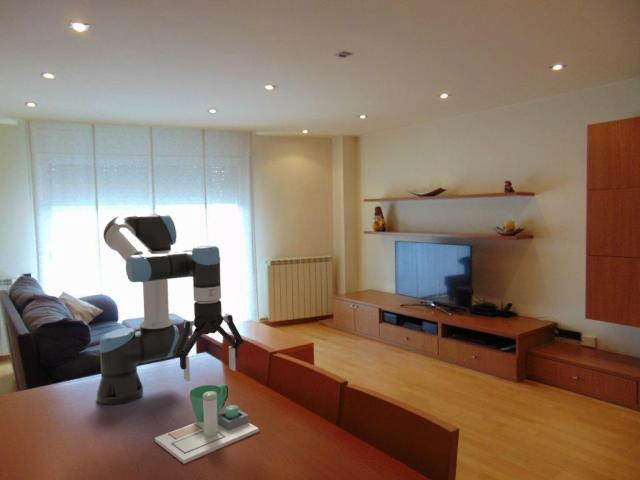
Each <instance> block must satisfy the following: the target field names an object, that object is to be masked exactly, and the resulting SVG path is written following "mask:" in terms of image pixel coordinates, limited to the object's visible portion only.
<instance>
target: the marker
mask: <svg viewBox="0 0 640 480" xmlns="http://www.w3.org/2000/svg"><path fill="white" fill-rule="evenodd" d="M203 411H204V433H206V437H214V436H216V435H217V433H216V432H217V431H218V420H217V393H216V392H214V391H210V392H205V393H204V394H203Z"/></svg>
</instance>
